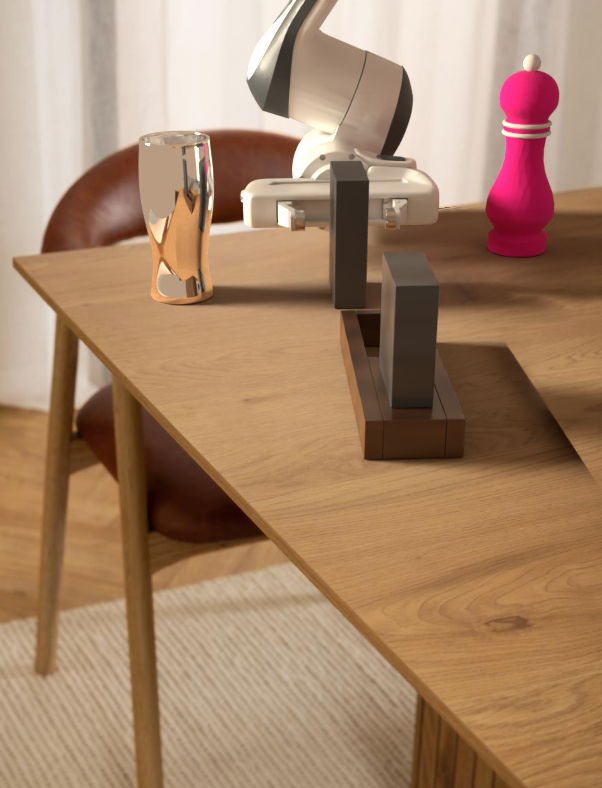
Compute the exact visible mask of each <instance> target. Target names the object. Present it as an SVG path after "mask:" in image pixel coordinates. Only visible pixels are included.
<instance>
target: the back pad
mask: <svg viewBox="0 0 602 788" xmlns="http://www.w3.org/2000/svg"><path fill="white" fill-rule="evenodd" d="M368 212H369V179H368V177H367V174H366V172H365V169H364V167H363V164H362V162H361V161H330V212H329V232H328V236H329V237H328V286H329V290H330V294H331V298H332V303H333V308H334V309H366V308H367V288H368V287H367V286H368V285H367V284H368V283H367V282H368V281H367V280H368V251H369V250H368V249H369V248H368V246H369V245H368V244H369V226H368Z"/></svg>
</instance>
